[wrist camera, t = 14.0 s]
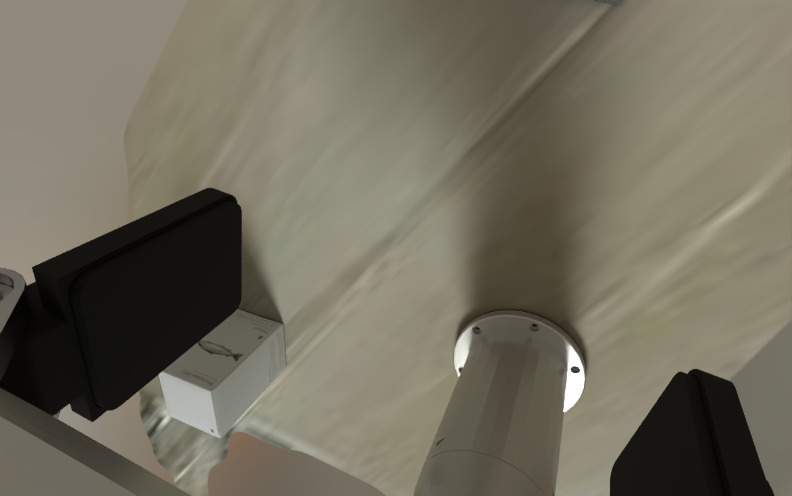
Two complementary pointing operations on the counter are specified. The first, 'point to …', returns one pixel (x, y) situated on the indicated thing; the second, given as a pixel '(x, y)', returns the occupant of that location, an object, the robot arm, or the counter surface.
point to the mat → (611, 1)
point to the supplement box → (224, 372)
